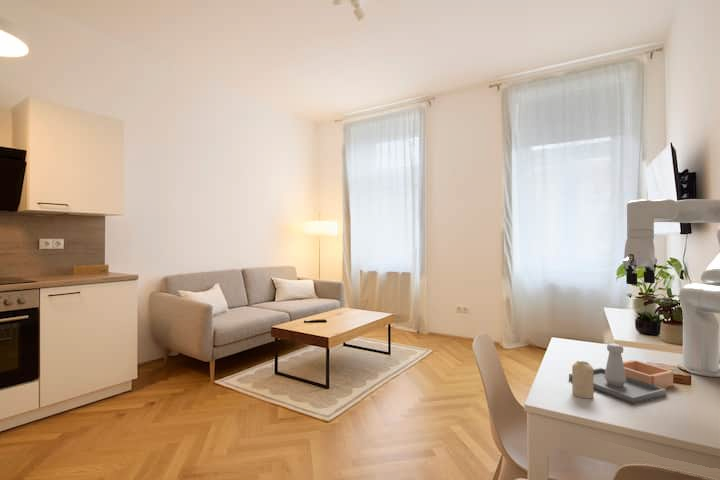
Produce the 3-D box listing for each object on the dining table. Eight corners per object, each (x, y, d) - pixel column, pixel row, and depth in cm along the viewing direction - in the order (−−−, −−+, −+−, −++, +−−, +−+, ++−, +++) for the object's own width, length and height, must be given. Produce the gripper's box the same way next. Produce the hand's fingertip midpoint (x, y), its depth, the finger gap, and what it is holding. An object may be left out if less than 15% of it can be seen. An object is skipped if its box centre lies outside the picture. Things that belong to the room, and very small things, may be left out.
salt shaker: (630, 389, 112) (630, 347, 112) (609, 387, 113) (609, 346, 113) (620, 382, 118) (620, 342, 118) (601, 380, 119) (601, 341, 119)
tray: (600, 373, 128) (600, 367, 128) (666, 395, 109) (666, 389, 109) (569, 379, 122) (569, 373, 122) (632, 404, 103) (632, 397, 103)
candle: (586, 400, 106) (586, 366, 106) (568, 393, 111) (568, 361, 111) (597, 396, 108) (597, 363, 109) (579, 389, 113) (579, 358, 113)
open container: (634, 372, 129) (634, 359, 129) (675, 385, 117) (675, 371, 117) (611, 377, 124) (611, 364, 124) (651, 391, 112) (651, 376, 112)
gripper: (643, 235, 133) (644, 281, 133) (613, 235, 127) (613, 283, 127) (667, 235, 126) (667, 283, 126) (636, 235, 120) (636, 286, 120)
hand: (640, 283), depth 127 cm, fingers open, 9 cm apart
